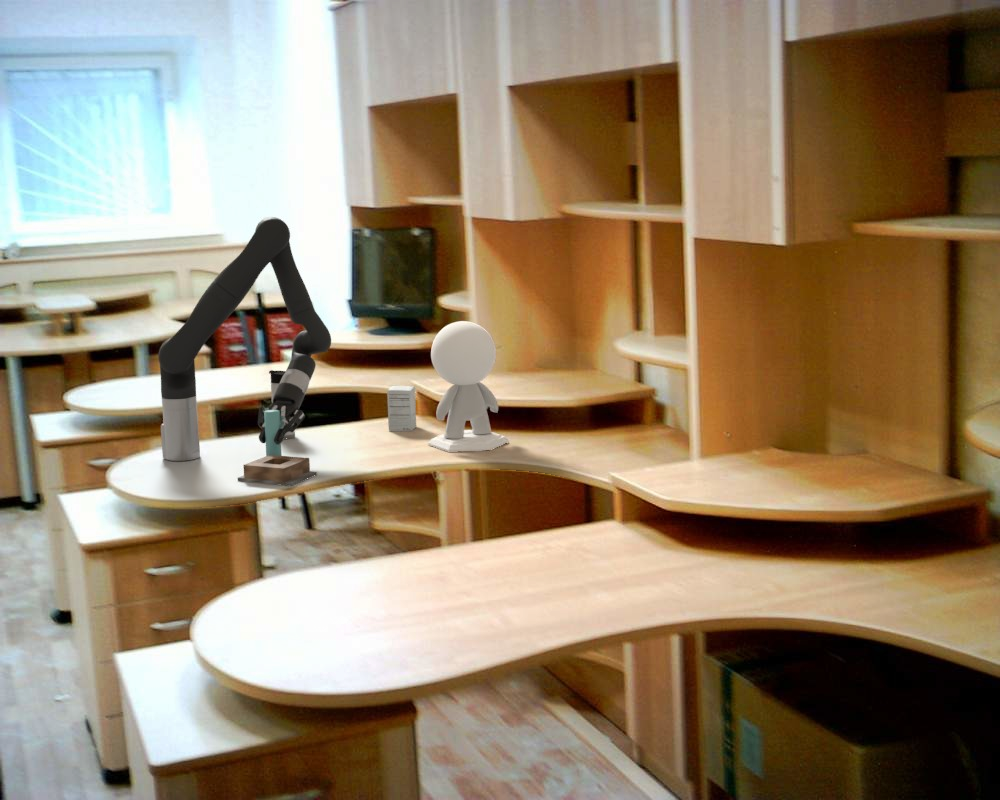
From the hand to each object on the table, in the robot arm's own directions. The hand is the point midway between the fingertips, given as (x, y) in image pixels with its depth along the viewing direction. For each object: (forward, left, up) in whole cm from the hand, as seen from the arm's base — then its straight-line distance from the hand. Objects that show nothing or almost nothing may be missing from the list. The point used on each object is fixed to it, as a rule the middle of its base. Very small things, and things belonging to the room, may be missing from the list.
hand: (269, 442), depth 332 cm
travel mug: (-18, +34, -7) cm, 39 cm away
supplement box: (+10, +56, -7) cm, 57 cm away
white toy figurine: (+38, +43, -7) cm, 58 cm away
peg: (0, +2, -6) cm, 6 cm away
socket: (+8, -9, -7) cm, 14 cm away
